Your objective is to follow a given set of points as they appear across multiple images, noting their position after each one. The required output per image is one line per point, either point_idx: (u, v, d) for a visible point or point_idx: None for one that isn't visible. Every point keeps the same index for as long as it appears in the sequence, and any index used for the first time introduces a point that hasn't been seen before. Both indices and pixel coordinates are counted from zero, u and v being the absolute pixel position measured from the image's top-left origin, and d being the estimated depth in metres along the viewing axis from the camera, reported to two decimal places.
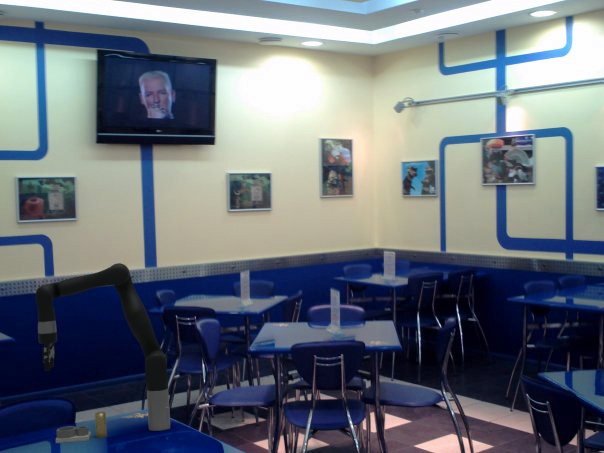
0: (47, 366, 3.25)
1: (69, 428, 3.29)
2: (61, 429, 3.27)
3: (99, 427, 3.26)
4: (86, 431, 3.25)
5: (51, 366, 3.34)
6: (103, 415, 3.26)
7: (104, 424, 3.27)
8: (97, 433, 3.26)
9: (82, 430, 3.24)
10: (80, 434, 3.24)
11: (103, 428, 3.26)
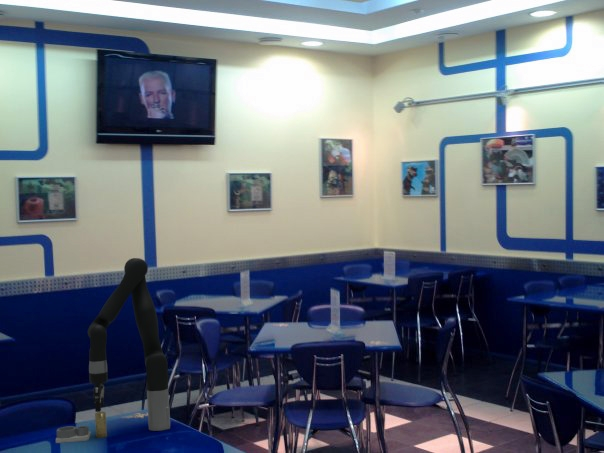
0: (98, 406, 3.22)
1: (69, 428, 3.29)
2: (61, 429, 3.27)
3: (99, 427, 3.26)
4: (86, 431, 3.25)
5: (101, 405, 3.32)
6: (103, 415, 3.26)
7: (104, 424, 3.27)
8: (97, 433, 3.26)
9: (82, 430, 3.24)
10: (80, 434, 3.24)
11: (103, 428, 3.26)
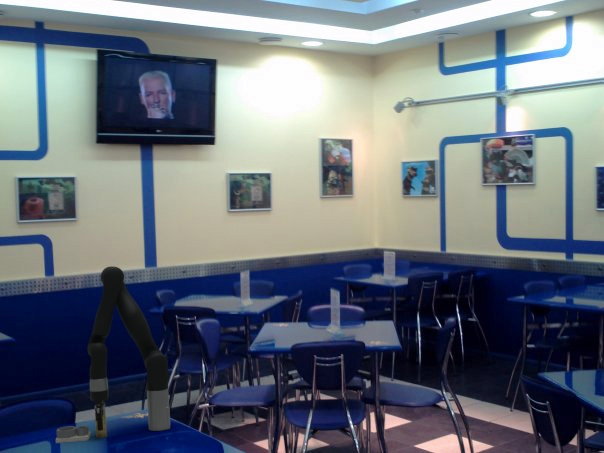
0: (100, 425, 3.24)
1: (69, 428, 3.29)
2: (61, 429, 3.27)
3: None
4: (86, 431, 3.25)
5: None
6: None
7: (104, 424, 3.27)
8: (97, 433, 3.26)
9: (82, 430, 3.24)
10: (80, 434, 3.24)
11: (103, 428, 3.26)
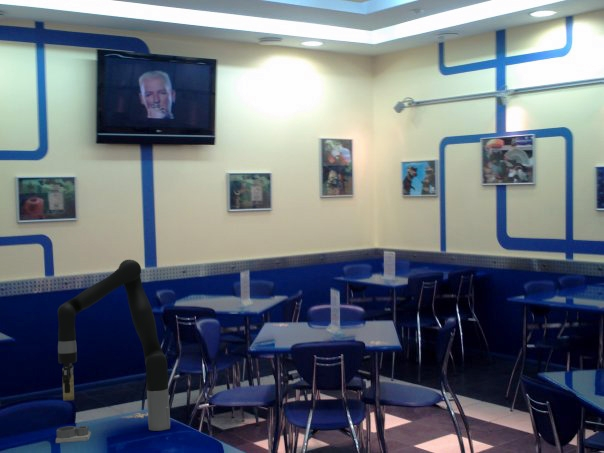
0: (67, 388, 3.22)
1: (69, 428, 3.29)
2: (61, 429, 3.27)
3: None
4: (86, 431, 3.25)
5: None
6: (71, 378, 3.24)
7: (71, 387, 3.25)
8: (64, 396, 3.24)
9: (82, 430, 3.24)
10: (80, 434, 3.24)
11: (71, 391, 3.24)
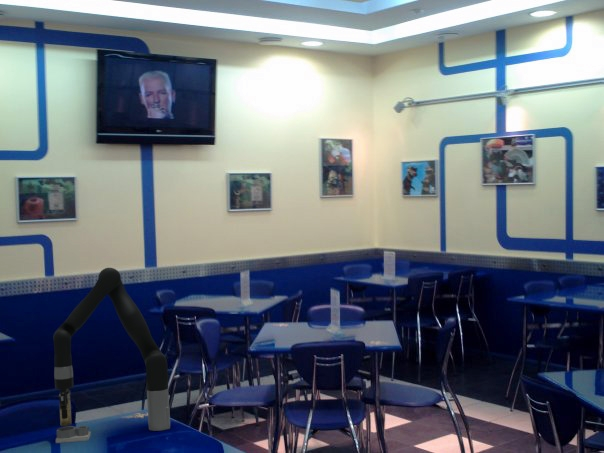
0: (64, 413, 3.22)
1: (69, 428, 3.29)
2: (61, 429, 3.27)
3: None
4: (86, 431, 3.25)
5: None
6: None
7: (68, 412, 3.25)
8: (61, 421, 3.24)
9: (82, 430, 3.24)
10: (80, 434, 3.24)
11: (68, 416, 3.24)
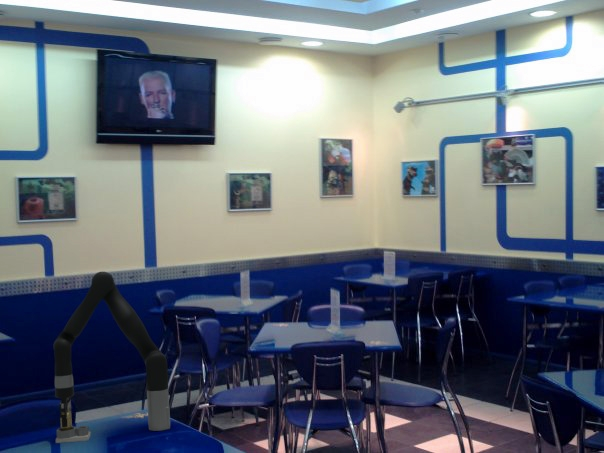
0: (64, 422, 3.21)
1: None
2: None
3: None
4: (86, 431, 3.25)
5: None
6: (68, 414, 3.24)
7: (69, 423, 3.25)
8: None
9: (82, 430, 3.24)
10: (80, 434, 3.24)
11: (69, 427, 3.24)
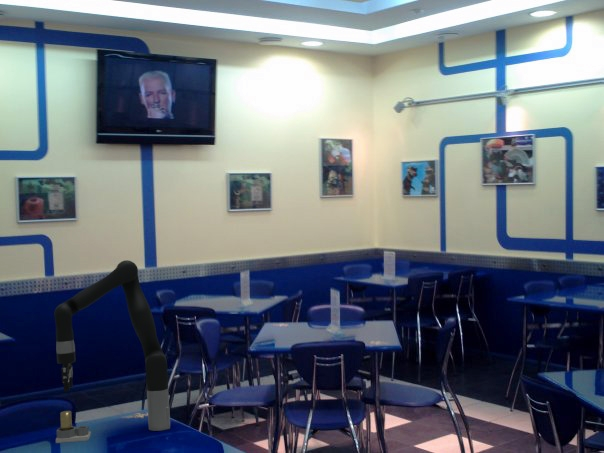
0: (66, 386, 3.22)
1: None
2: None
3: (64, 427, 3.23)
4: (86, 431, 3.25)
5: (70, 386, 3.31)
6: (68, 414, 3.24)
7: (69, 423, 3.25)
8: None
9: (82, 430, 3.24)
10: (80, 434, 3.24)
11: (69, 427, 3.24)
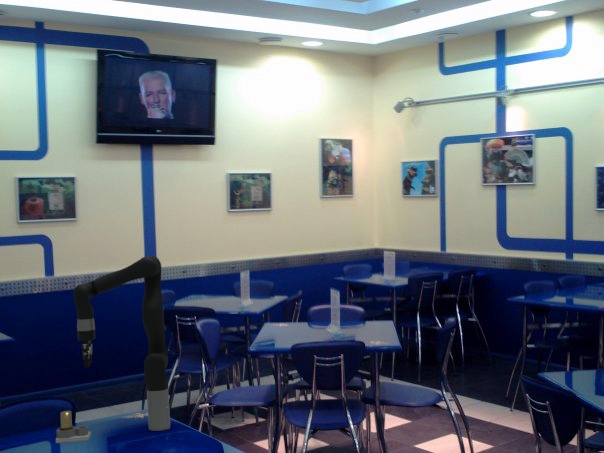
0: (86, 362, 3.35)
1: None
2: None
3: (64, 426, 3.24)
4: (86, 431, 3.25)
5: (89, 362, 3.44)
6: (68, 414, 3.24)
7: (69, 423, 3.25)
8: None
9: (82, 430, 3.24)
10: (80, 434, 3.24)
11: (69, 427, 3.24)
